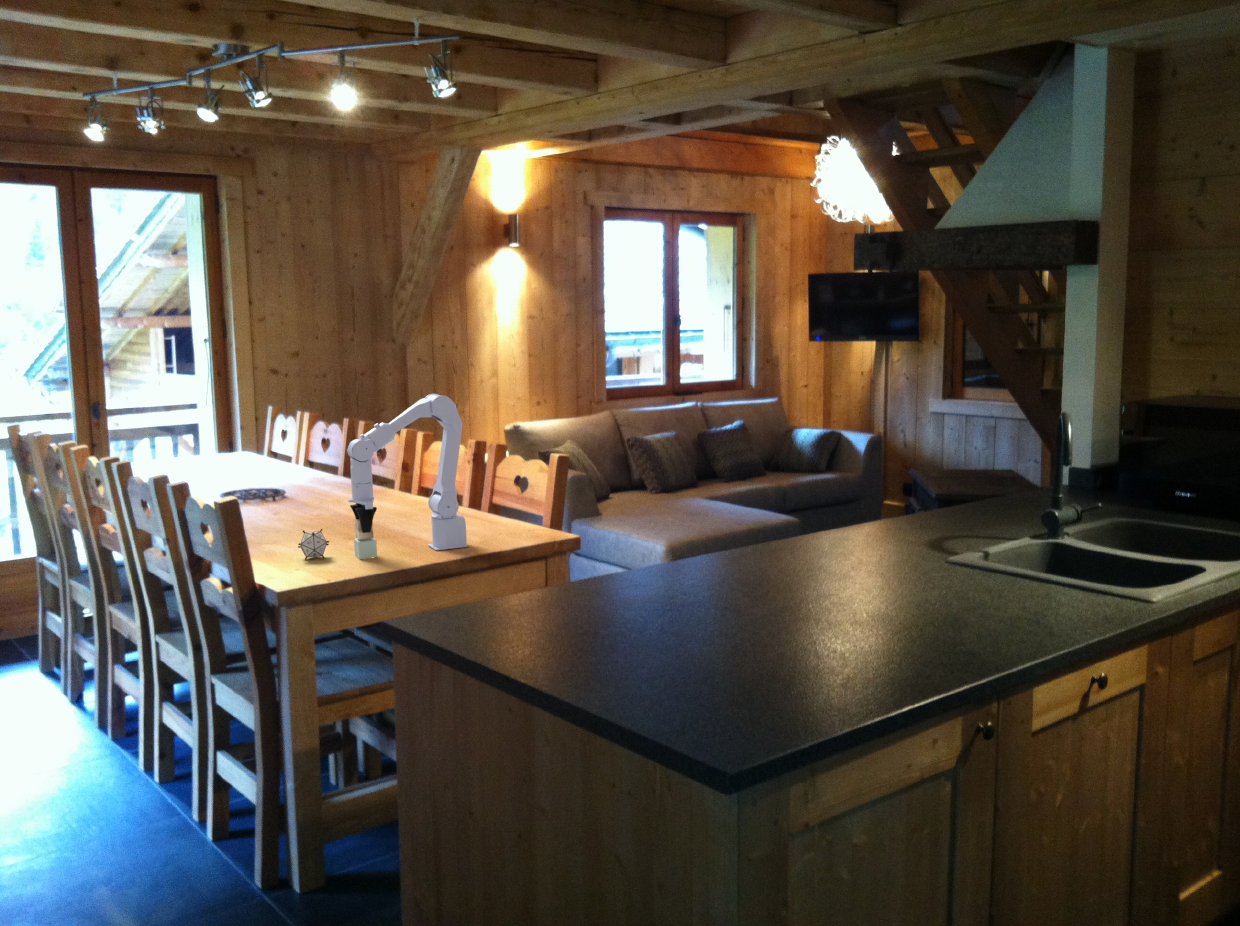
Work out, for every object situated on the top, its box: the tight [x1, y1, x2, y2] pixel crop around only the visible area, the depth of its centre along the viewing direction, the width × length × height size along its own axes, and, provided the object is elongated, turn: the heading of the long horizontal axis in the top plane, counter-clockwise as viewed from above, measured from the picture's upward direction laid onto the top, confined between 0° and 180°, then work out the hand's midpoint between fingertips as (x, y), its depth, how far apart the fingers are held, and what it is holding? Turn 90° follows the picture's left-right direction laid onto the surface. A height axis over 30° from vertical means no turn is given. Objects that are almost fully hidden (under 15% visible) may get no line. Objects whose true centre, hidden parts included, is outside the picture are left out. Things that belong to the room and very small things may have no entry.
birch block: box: [354, 518, 375, 540], centre depth 302 cm, size 4×4×5 cm
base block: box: [353, 538, 378, 560], centre depth 303 cm, size 5×5×5 cm
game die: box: [297, 528, 330, 561], centre depth 302 cm, size 9×8×10 cm
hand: (364, 530), depth 302 cm, fingers closed on birch block, 4 cm apart
